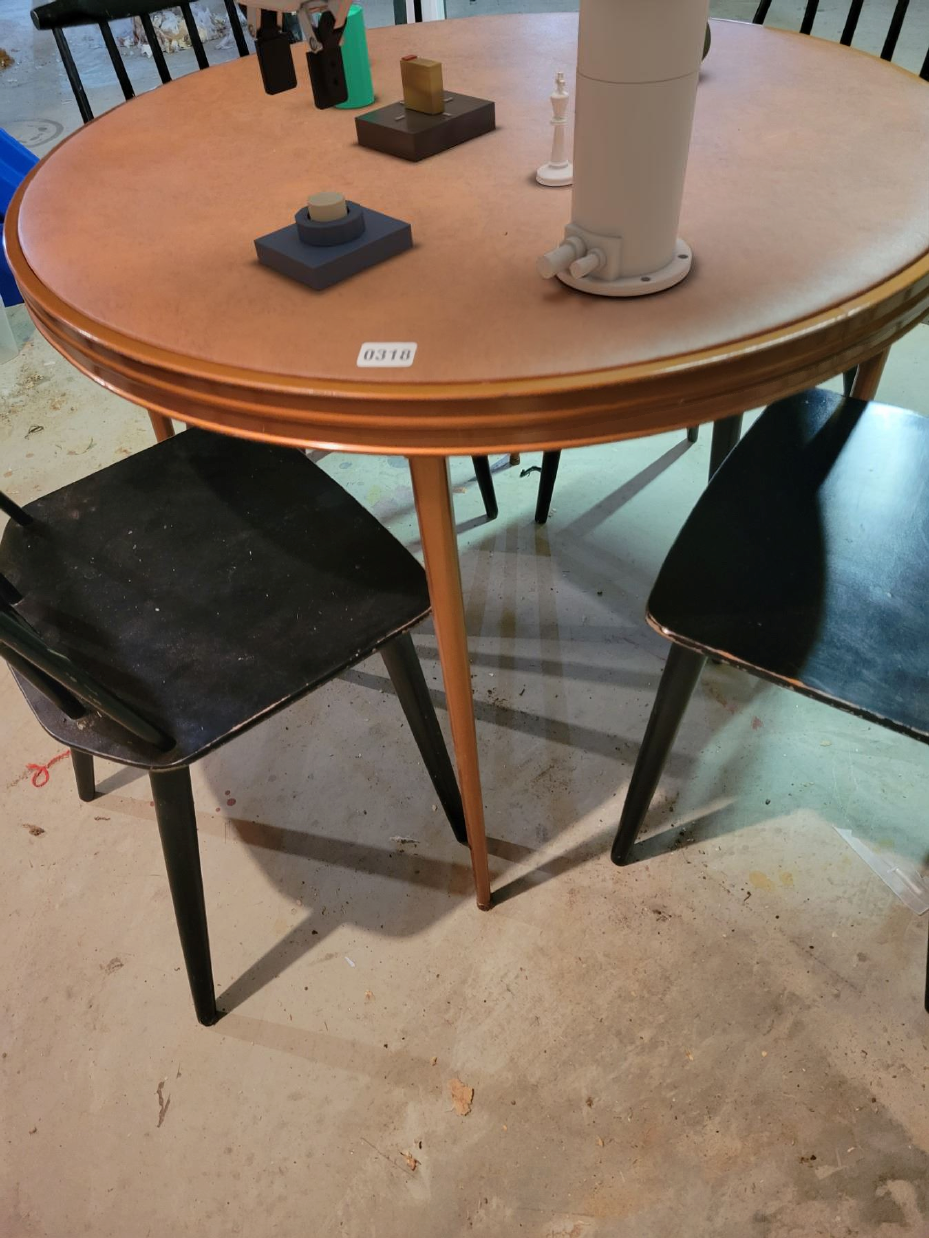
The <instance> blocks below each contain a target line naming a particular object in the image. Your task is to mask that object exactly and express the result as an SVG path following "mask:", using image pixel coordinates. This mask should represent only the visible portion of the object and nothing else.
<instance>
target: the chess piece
mask: <svg viewBox="0 0 929 1238" xmlns="http://www.w3.org/2000/svg"><path fill="white" fill-rule="evenodd" d="M554 80H555V81H554V83H555V84H556V87H557V89H556V91H553V92H552V93H551V94H550V96H549V99H550V102H551V106H552V110H553V113H554V116H552V117H550V119H549V122H548V123H549V125H551V126H554V130H553V140H552V146H551V147H552V148H551V155H550V159H549V160H548V161H547V163H546V164H543V165H542V166H540V167H539V168H538V169H537V171H536V176H535V180H536V182H538V183H539V184H541V185H544V186H547V187H562V186H564V187H565V186H569V185H572V174H573V163H571V162H570V161H569V159H568V158H567V153H566V143H565V142H566V141H565V130H564V126H565V125H568V124H569V123H570V119H569V117H568V116H566V115H565V112H566V110H567V106H568V102H569V100H570V93H569V92H568V91H565V90H564V88H565V87H566V81H565V80H564V72H563V71H558V72H557V77H555V78H554Z"/></svg>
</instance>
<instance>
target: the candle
mask: <svg viewBox="0 0 929 1238" xmlns="http://www.w3.org/2000/svg"><path fill="white" fill-rule="evenodd" d="M318 13H319V12H318ZM318 13H317V18H318V17H319V20H320V17H321V14H320V13H319V14H318ZM343 34H344V44H343V45H341V51H342V58H343V64H344V71H345V77H346V84H347V90H348V100H347V101H346V102H344V103H341V104H338V105H335V106H334V107H336V108H337V109H338V108H339V109H359V108H363V107H367V106H368V105H370V104H372V103H374V102H375V93H374V86H373V79H372V72H371V70H372V69H371V63H370V56H369V49H368V41H367V33H366V26H365V18H364V11H363V7H361V6H360V5H358V4H357V5H351V7H350V10H349V13H348V16H347V25H346V27H345V30H344V32H343Z"/></svg>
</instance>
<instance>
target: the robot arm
mask: <svg viewBox="0 0 929 1238" xmlns="http://www.w3.org/2000/svg"><path fill="white" fill-rule="evenodd" d="M352 1H354V0H235V2H236V3H237V6H238V9H239V10H240V12H241V14H242V16H243V18H245V20H246V24H247V25H246V27H247V32H248V35H249V37H250V38H251V39H252V40H253V43H254V48H255V53H256V57H257V61H258V66H259V71H260V74H261V81H262V83H263V88H264V93H265V94H267V95H269V96H275V95H279V94H281V93H285V92H287V91H290V90H293V89H296V88H297V86H298V78H297V73H296V68H295V63H294V58H293V53H292V47H291V42H290V38H289V32H286V31H283V32H282V30H283V13H284V14H285V13H287V14H288V13H289V14H291V13H295V14H296V16H297V19H298V21H299V24H300V26H301V29H302V32H303V34H304V38H306V42H307V45H308V47H309V49H310V50H309V51H307V52H305V59H306V64H307V69H308V70H307V71H308V74H309V81H310V86H311V90H312V91H311V92H312V97H313V102H314V106H315V108H316V109H317V110H321V111H324V110H327V109H329V108H332V107H336V106H335V105H338V104H341V103H344V102H346V101H347V100H348V90H347V84H346V77H345V71H344V64H343V58H342V51H341V45H343V44H344V34H343V32H344V30H345V27H346V25H347V16H348V13H349V10H350V7H351V4H352ZM710 4H711V0H579V5H578V6H579V7H578V9H579V11H578V29H577V52H576V67H575V91H574V92H575V93H574V119H573V120H574V122H573V123H574V124H573V149H572V151H573V152H572V164H573V174H572V184H571V205H570V222H569V223H567V224H565V225H564V231H563V232H564V233H563V236H564V237H563V238H564V239H563V240H561V242H560V243H558V245H556V247H555V248H554V249H551V250H550V251H548V252H546V253H544V254H543V255H542V254H541V256H539V257H538V258H537V260H536V270H537V272H538V274H539V275H540V277H541V278H543V279H545V280H548V279H550V278H553V277H555V276H557V278H558V279H559V280H561V281H562V282H563V283H564V284H566V285H567V286H569V287H571V288H573V289H576V290H579V291H582V292H584V293H589V294H593V295H596V296H597V295H599V296H608V297H633V296H642V295H648V294H653V293H657V292H661V291H664V290H665V289H668V288H670V287H673V286H674V285H676V284H678V283H679V282H681V281H682V280H683V279H684V278H685V277H686V276H687V275H688V274H689V272H690V270H691V265H692V259H693V253H692V250H691V248H690V247H689V245H688V244H687V243H686V242H685V241H684V240H683V238H680V237H679V236H678V231H679V225H680V217H681V210H682V203H683V196H684V195H683V194H684V189H685V181H686V174H687V167H688V159H689V153H690V145H691V139H692V133H693V132H692V131H693V125H694V118H695V117H694V116H695V109H696V102H697V95H698V87H699V81H700V73H701V72H700V70H701V66H702V62H703V61H702V55H703V48H704V41H705V34H706V26H707V21H708V18H709V11H710ZM320 11H321V17H320V20H319V23H318V22H317V24H316V22H315V19H314V16H313V14H318V13H319V12H320Z"/></svg>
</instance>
